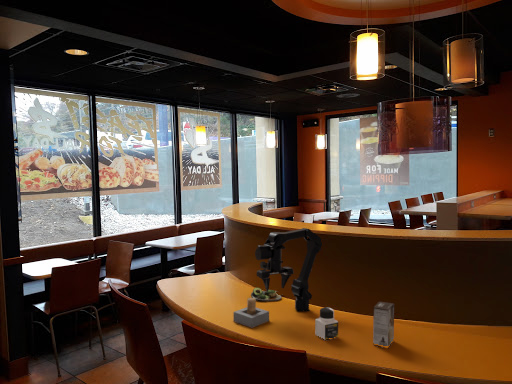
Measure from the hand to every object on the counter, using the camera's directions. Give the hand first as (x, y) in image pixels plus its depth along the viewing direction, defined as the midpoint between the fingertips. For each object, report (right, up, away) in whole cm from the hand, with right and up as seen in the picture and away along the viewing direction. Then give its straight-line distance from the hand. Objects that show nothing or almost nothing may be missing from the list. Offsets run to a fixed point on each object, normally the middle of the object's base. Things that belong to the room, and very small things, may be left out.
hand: (275, 289), depth 195 cm
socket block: (-12, -13, -7) cm, 19 cm away
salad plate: (-4, -12, +30) cm, 33 cm away
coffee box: (+43, -15, -32) cm, 56 cm away
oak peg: (-12, -13, -7) cm, 19 cm away
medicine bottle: (+21, -14, -25) cm, 35 cm away
